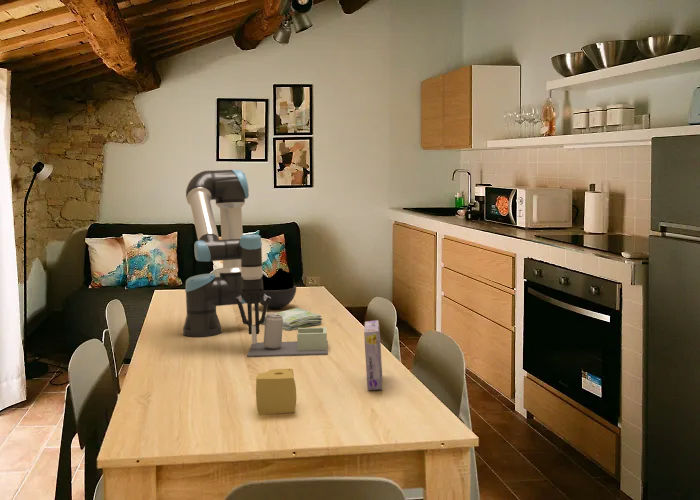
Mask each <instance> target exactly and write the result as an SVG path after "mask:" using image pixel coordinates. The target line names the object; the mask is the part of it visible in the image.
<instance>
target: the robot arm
mask: <svg viewBox="0 0 700 500" xmlns="http://www.w3.org/2000/svg"><path fill="white" fill-rule="evenodd" d="M249 191H250V190H249V184H248V179H247V177H246V174H245V173H244V171H242V170H240V169H221V170H202V171H200V172H198V173H197V174H195V175H194V176H193V177H192V178H191V179H190V180H189V182H188V184H187V186H186V190H185V197H186V201H187V204H188V205H189V206H190V208H191V212H192V213H191V215H192V218H193V223H194V227H195V233H196V238H197V240H196V241H195V242H194V245H193V246H194V247H193V248H194V249H193V251H194V257H195V260H196V261H197V262H206V263H207V262H217V261H222V269H220V271H219V276H216V275H215V274H214V273H210V272H209V273H202V274H197V275H193V276H190V277H188V278H187V279H186V280H185V290H184V291H185V298H186V299H185V301H186V303H185V304H186V316H185V320H184V324H183V329H182V334H183V335H184V336H185V335H187V336H186V337H191V336H194V338H197V337H198V338H200V337H212V336H215V335H220V334H221V333H222V325H221V322H220V320H219V317H218V314H217V307H218V306H219V307H223V306H235V305H237V307H238V311H239V314H240V318H241V321H242V323H243V325H246V326H247V327H248V335H251V345H252V344H256V343H258V337H257V336H258V335H259V334H260V325H264V324H263V323H264V320H265V316H266V315H267V310H268V308H267V306H268V302H269V301H270V299H271V297H270V296H267V295H265V292H264V291H263V279H262V278H261V277H262V276H263V274H264V272H263V249H262V248H263V247H262V245H263V242H262V236H261V235H259V234H256V233H255V234H254V233H253V234H244V233H243V232H244V231H243V214H242V213H243V211H242V207H243V206H244V205H245V204H246V200H247V199H248V198H249V196H250V195H249ZM213 200H214V201H215V205H216V206H217V207H218V208H219V214H220V215H219V216H220V232H221V233H220V234H221V236H219V233H218V229H217V225H216V220H215V217H214V212H213V208H212V207H213V206H212V204H211V201H213ZM220 237H221V239H220ZM263 297H264V301H265V303H264V306H263V307H262V312H261V317H260V303H259V302H260V301H261V300H262V298H263ZM246 304H247V305H246ZM243 305H246V307H247V316H246V312H245V308H244V306H243ZM252 305H254V320H255V321H254V322H255V324H253V309H252V308H253V307H252ZM260 318H261V320H260Z"/></svg>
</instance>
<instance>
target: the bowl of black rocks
mask: <svg viewBox="0 0 700 500" xmlns="http://www.w3.org/2000/svg"><path fill="white" fill-rule="evenodd" d="M261 278H262V279H263V291H264V292H265V295H267V296H270V297H271V299H270V301H269V302H268V306H267V309H271V310H279V309H282V308H285V307H286V306H288V305H289V304H290V303H291V302H292V301H293V299H294V298H295V296H296V292H297V286H296V285H294V283H295V282H294V281H293V280H292V274H291V273H290V272H289V271H286V270H284V269H283V268H282V267H279V268H278V269H277V270H276V272H275V273H273V274H272V275H271V276H270V277H269V276H267V275H265V273H263V276H262V277H261ZM264 303H265V301H264V297H263V298H262V300H261V301H260V302H259V305H261V306H263V307H264Z"/></svg>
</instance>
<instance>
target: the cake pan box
mask: <svg viewBox="0 0 700 500" xmlns="http://www.w3.org/2000/svg"><path fill="white" fill-rule="evenodd" d="M363 331H364V337H363V338H364V351H365V352H364V353H365V370H366V373H365V374H366V386H367V390H368V391H383V368H382V367H383V366H382V364H383V362H382V345H381V334H380V333H381V332H380V321H379V319H378V320H369V321H365V322H364V329H363Z"/></svg>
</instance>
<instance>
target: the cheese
mask: <svg viewBox="0 0 700 500" xmlns="http://www.w3.org/2000/svg"><path fill="white" fill-rule="evenodd" d="M294 377H295V375H294V369H293V368H272V369H269V370H267V371H266V372H259V373H257V375H256V378H255V381H256V382H255V398H256V400H255V402H256V409H257V415H259V416H261V415H275V414H276V415H277V414H278V415H279V414H290V413H291V414H293V413H295V412H296V408H297V407H296V406H297V385H296V381H295V378H294Z"/></svg>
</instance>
